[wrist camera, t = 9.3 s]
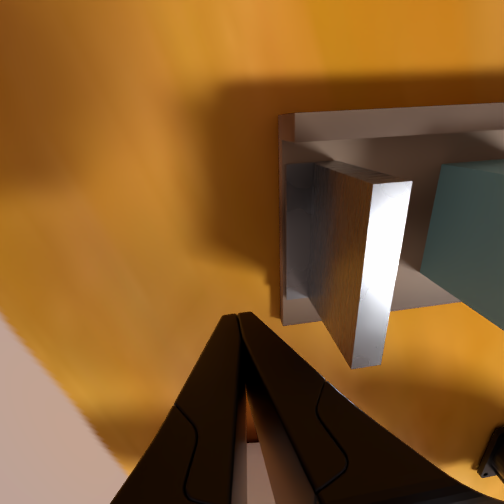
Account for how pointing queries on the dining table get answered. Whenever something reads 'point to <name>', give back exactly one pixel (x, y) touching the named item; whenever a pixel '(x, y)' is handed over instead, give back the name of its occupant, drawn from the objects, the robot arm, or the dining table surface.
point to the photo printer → (257, 477)
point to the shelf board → (392, 163)
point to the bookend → (345, 250)
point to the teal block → (469, 236)
